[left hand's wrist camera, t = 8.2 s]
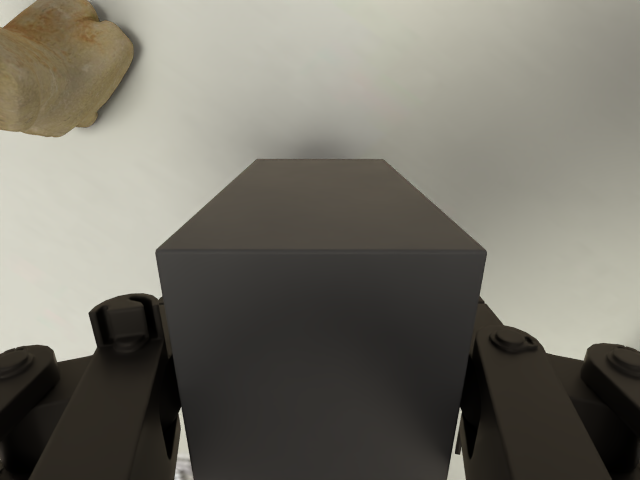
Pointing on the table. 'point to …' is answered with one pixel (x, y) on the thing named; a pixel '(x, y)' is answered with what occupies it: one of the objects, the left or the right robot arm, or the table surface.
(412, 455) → the bar
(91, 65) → the sculpture
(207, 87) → the table surface
